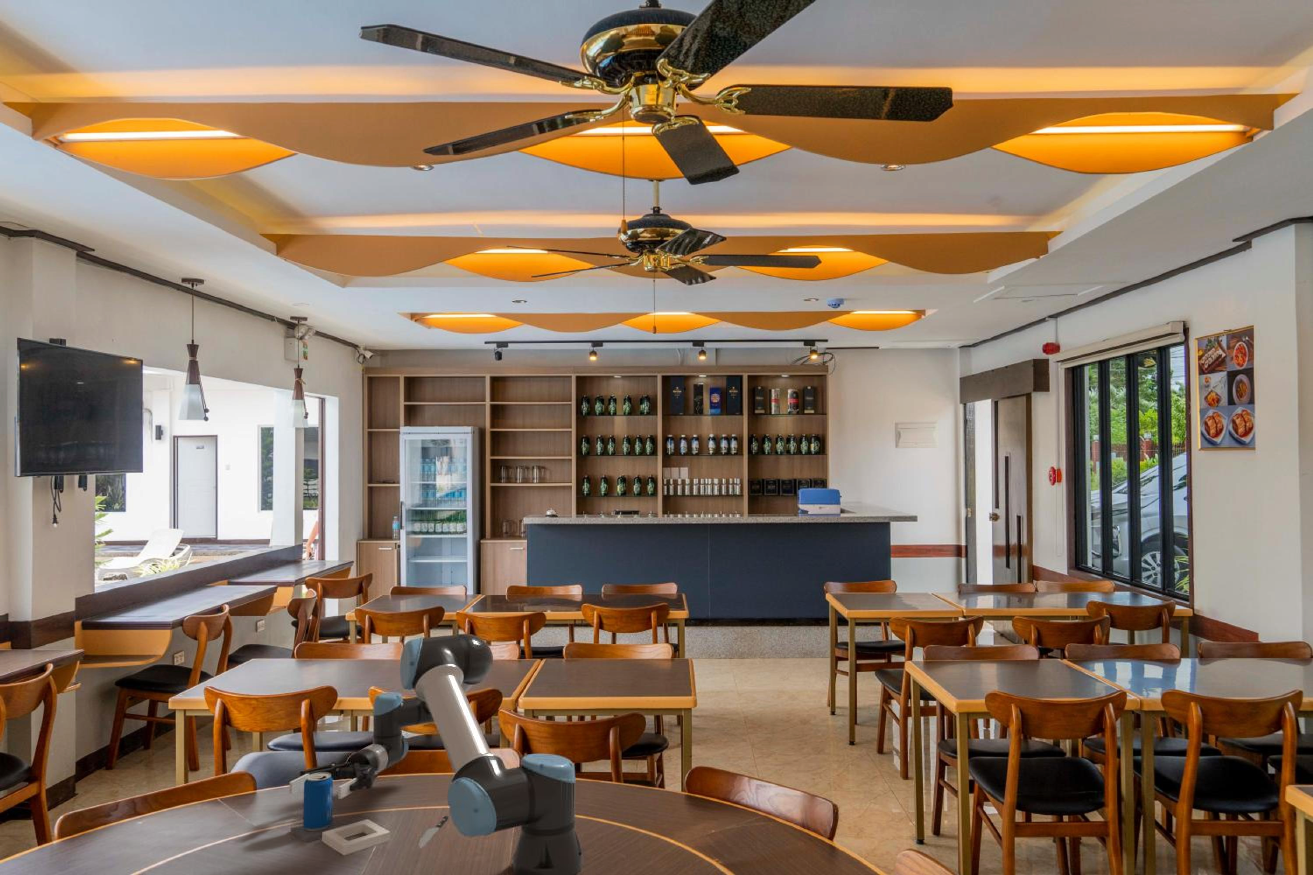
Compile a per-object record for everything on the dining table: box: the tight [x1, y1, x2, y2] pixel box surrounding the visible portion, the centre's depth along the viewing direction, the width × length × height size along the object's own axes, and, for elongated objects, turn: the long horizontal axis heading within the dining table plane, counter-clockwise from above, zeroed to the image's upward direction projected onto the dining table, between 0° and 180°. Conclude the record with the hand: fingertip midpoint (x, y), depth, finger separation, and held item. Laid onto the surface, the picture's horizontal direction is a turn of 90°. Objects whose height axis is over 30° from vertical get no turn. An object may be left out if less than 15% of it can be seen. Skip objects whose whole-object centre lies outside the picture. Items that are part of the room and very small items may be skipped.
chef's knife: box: [418, 815, 449, 849], centre depth 203 cm, size 19×1×3 cm
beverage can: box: [302, 772, 334, 831], centre depth 205 cm, size 6×6×12 cm
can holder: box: [321, 818, 391, 856], centre depth 198 cm, size 11×11×2 cm
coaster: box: [290, 819, 343, 843], centre depth 204 cm, size 9×9×1 cm
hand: (314, 790), depth 204 cm, fingers open, 13 cm apart
